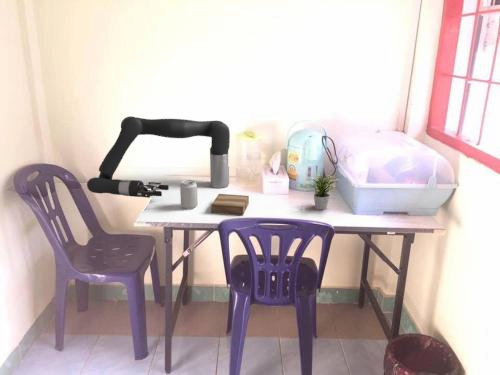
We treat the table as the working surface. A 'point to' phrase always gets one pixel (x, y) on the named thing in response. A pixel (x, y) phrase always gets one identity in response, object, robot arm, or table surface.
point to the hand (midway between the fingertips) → (165, 190)
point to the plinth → (230, 204)
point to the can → (188, 194)
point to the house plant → (322, 191)
